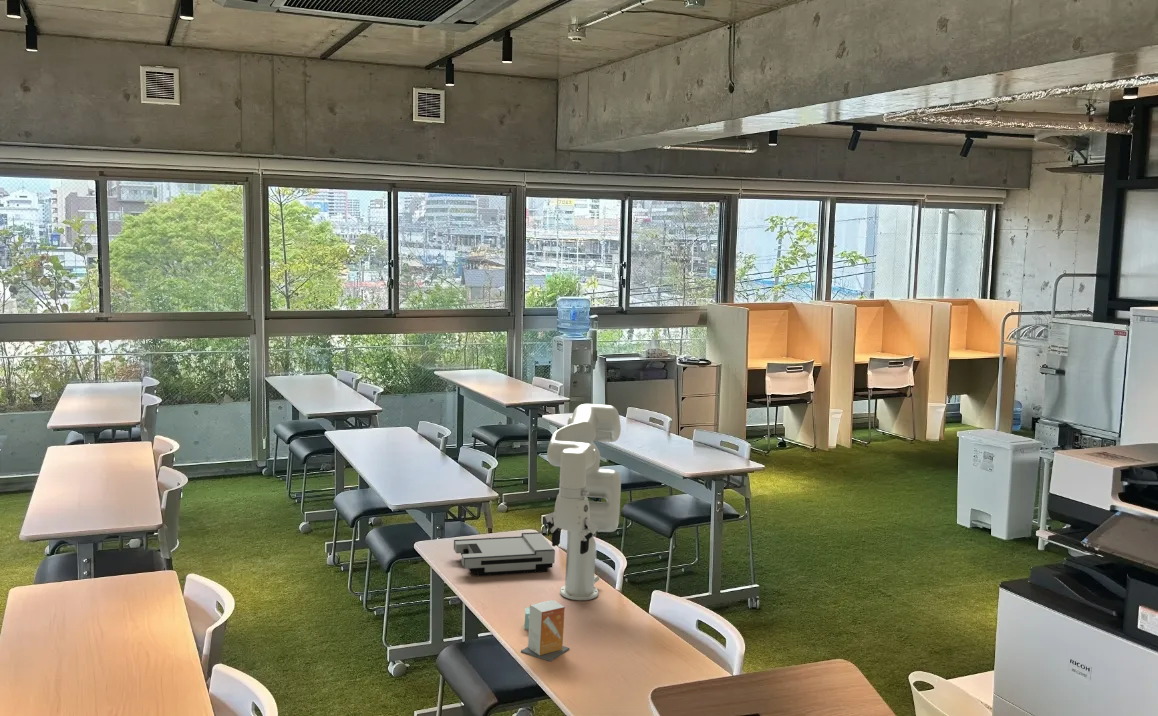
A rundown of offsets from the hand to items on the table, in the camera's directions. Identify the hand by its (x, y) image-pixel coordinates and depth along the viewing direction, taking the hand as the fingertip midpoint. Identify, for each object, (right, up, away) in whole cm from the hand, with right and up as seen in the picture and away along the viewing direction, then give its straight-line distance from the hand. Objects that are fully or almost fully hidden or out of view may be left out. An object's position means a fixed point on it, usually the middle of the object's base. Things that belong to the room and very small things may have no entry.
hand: (569, 548), depth 276 cm
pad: (-7, -29, -2) cm, 30 cm away
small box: (-7, -29, -2) cm, 29 cm away
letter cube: (-11, -26, +15) cm, 32 cm away
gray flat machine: (-25, -19, +66) cm, 73 cm away
